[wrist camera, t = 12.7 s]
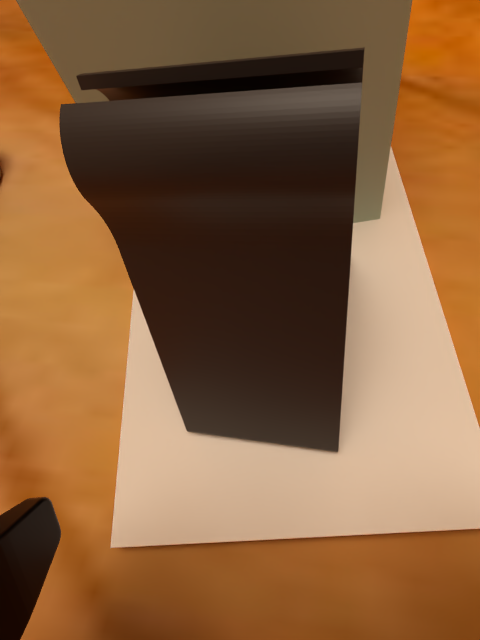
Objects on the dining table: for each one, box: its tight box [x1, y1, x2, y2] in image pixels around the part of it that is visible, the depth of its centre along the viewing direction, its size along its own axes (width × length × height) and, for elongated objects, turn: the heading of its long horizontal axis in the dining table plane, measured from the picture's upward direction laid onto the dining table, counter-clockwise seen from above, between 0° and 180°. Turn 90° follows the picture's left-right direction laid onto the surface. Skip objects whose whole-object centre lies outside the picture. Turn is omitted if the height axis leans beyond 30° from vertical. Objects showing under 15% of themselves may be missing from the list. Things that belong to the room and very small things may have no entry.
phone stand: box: [60, 47, 365, 452], centre depth 13 cm, size 9×6×12 cm, turn 170°
